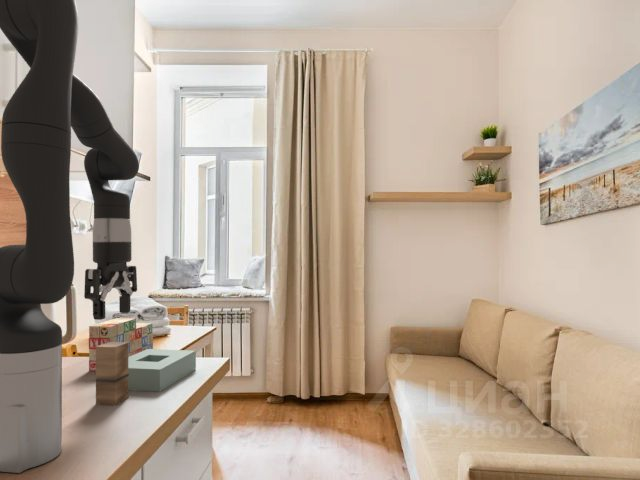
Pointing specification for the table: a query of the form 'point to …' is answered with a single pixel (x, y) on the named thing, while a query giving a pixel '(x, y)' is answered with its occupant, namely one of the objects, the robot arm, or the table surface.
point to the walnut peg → (111, 373)
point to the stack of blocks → (120, 336)
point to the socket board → (159, 368)
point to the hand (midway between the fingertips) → (112, 315)
